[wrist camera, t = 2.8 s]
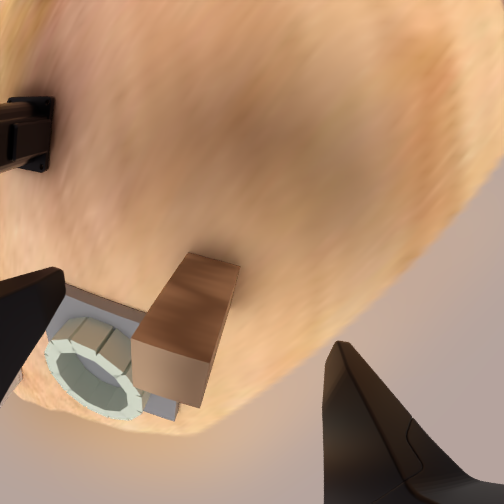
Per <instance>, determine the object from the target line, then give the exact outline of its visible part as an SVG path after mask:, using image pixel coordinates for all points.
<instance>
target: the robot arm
mask: <svg viewBox="0 0 504 504" xmlns="http://www.w3.org/2000/svg"><path fill="white" fill-rule="evenodd" d="M48 102H49V104H48ZM53 108H54V98H53V97H52V96H38V97H11V98H9V99H8V101H7V103H4V104H0V173H2V172H5V171H8V170H11V169H14V168H21V169H26V170H31V171H35V172H40V173H43V172H46V171H47V169H48V159H49V145H50V134H51V124H52V116H53ZM42 165H43V167H42ZM65 295H66V286H65V278H64V272H63V270H61V269H59V268H56V267H49V268H45V269H42V270H38V271H34V272H31V273H27V274H24V275H20V276H17V277H13V278H10V279H6V280H3V281H0V404H1V402H2V400H3V398H4V396H5V395H6V393H7V391H8V389H9V388H10V386H11V384H12V383H13V381H14V379H15V377H16V376H17V374H18V372H19V371H20V369H21V368H22V366H23V364H24V363H25V361H26V360H27V358H28V356H29V355H30V353H31V352H32V350H33V349H34V347H35V346H36V344H37V343H38V341H39V340H40V338H41V337H42V335H43V334H44V332H45V330H46V329H47V327H48V325H49V324H50V322H51V320H52V318H53V316H54V315H55V313H56V311H57V309H58V308H59V306H60V304H61V302H62V301H63V299H64V297H65ZM322 418H323V419H322V420H323V450H324V504H504V485H503V484H496V483H489V482H484V481H480V480H477V479H474V478H472V477H471V476H469V475H468V474H466V473H465V472H464V471H463V470H462V469H461V468H460V467H459V466H458V465H457V464H456V463H455V462H454V461H453V460H452V459H451V458H450V457H449V456H448V455H447V454H446V453H445V452H444V451H443V450H442V449H441V448H440V447H439V446H438V445H437V444H436V443H435V442H434V441H433V440H432V439H431V438H430V437H429V436H428V434H426V432H425V431H424V430H423V429H422V428H421V426H420V425H419V424H418V423H417V422H416V420H415V419H414V418H412V416H411V415H410V413H409V412H408V411H407V410H406V409H405V407H404V406H403V405H402V404H401V403H400V401H399V400H398V399H397V398H396V397H395V396H394V394H393V393H392V392H391V391H390V390H389V388H387V386H386V385H385V384H384V382H383V381H382V380H381V379H380V378H379V377H378V375H377V374H376V373H375V372H374V371H373V370H372V368H371V367H370V366H369V365H368V364H367V363H366V361H365V360H364V359H363V358H362V357H361V355H360V354H359V353H358V352H357V351H356V350H355V349H354V347H353V346H352V345H351V344H350V343H349V342H343V341H336V342H335V344H334V345H333V347H332V349H331V351H330V354H329V356H328V358H327V360H326V363H325V374H324V390H323V402H322Z"/></svg>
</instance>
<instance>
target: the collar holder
mask: <svg viewBox="0 0 504 504" xmlns="http://www.w3.org/2000/svg"><path fill="white" fill-rule="evenodd" d="M65 286H66V295H65V297H64V299H63V301H62V302H61V304H60V306H59V308H58V309H57V311H56V313H55V315H54V316H53V318H52V320H51V322H50V324H49V325H48V327H47V329H46V332H47V337H48V341H49V344H48V346H47V348H46V350H45V354H44V355H45V358H46V361H47V364H48V367H49V370H50V371H51V374H52V375H53V376H54V378H55V379H56V380H57V382H58V383H59V384H60V385H61V387H62V388H63V389H64V390H66V391H67V393H68V394H69V395H70V396H72V397H73V398H74V399H75V400H77V401H78V402H79V403H81V404H82V405H83V406H85V407H86V406H87V408H88V409H90V410H92V411H94V412H96V413H98V414H101V415H103V416H105V417H110V418H111V419H119V420H129V419H130V420H132V419H134V418H136V417H137V416H139V415H141V414H142V412H143V411H145V412H148V413H150V414H153V415H156V416H159V417H162V418H165V419H168V420H171V421H175V418H176V416H177V413H178V406H179V402H176V401H173V400H170V399H167V398H164V397H161V396H158V395H155V394H152V393H149V392H146V391H144V390H141V389H138V388H135V387H133V380H132V362H131V337H132V335H133V334H134V332H135V331H136V329H137V328H138V326H139V324H140V323H141V321H142V320H143V318H144V317H145V315H146V314H147V313H144V312H141V311H138V310H135V309H132V308H129V307H126V306H124V305H121V304H118V303H115V302H112V301H110V300H107V299H104V298H102V297H99V296H96V295H94V294H91V293H88V292H86V291H83V290H81V289H78V288H76V287H73V286H71V285H68V284H66V283H65Z"/></svg>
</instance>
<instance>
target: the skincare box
mask: <svg viewBox="0 0 504 504" xmlns="http://www.w3.org/2000/svg"><path fill="white" fill-rule="evenodd" d="M21 380H22V370H21V369H20V371H19V372H18V374H17V376H16V377H15V379H14V381H13V383H12V384H11V386H10V388H9V389H8V391H7V393H6V395H5V396H4V398H3V400H2V402H1V404H0V407H1V406H2V405H3V403H4V402H5V401H6V399H7V398H8V397H9V396H10V394H11V393H12V392H13V390H14V389H15V388H16V387H17V385H18V384H19V383H20V382H21Z"/></svg>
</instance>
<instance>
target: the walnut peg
mask: <svg viewBox="0 0 504 504" xmlns="http://www.w3.org/2000/svg"><path fill="white" fill-rule="evenodd" d="M239 269H240V266H237V265H233V264H229V263H225V262H222V261H218V260H214V259H211V258H207V257H203V256H200V255H196V254H192V253H189V252H188V254H187V255H186V256H185V258H184V259H183V261H182V262H181V264H180V265H179V266H178V268H177V269H176V271H175V272H174V274H173V275H172V277H171V278H170V280H169V281H168V282H167V284H166V285H165V287H164V288H163V290H162V291H161V293H160V294H159V296H158V297H157V299H156V300H155V302H154V303H153V305H152V306H151V308H150V309H149V311H148V312H147V314H146V315H145V317H144V318H143V320H142V321H141V323H140V324H139V326H138V328H137V329H136V331H135V332H134V334H133V335H132V337H131V362H132V380H133V387H135V388H138V389H141V390H144V391H146V392H149V393H152V394H155V395H158V396H161V397H164V398H167V399H170V400H173V401H176V402H179V403H183V404H186V405H189V406H193V407H196V408H200V406H201V403H202V399H203V396H204V393H205V389H206V386H207V383H208V379H209V376H210V372H211V369H212V366H213V362H214V359H215V356H216V352H217V349H218V346H219V342H220V339H221V336H222V332H223V329H224V326H225V322H226V319H227V316H228V312H229V309H230V305H231V301H232V297H233V293H234V289H235V285H236V281H237V277H238V273H239Z"/></svg>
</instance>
